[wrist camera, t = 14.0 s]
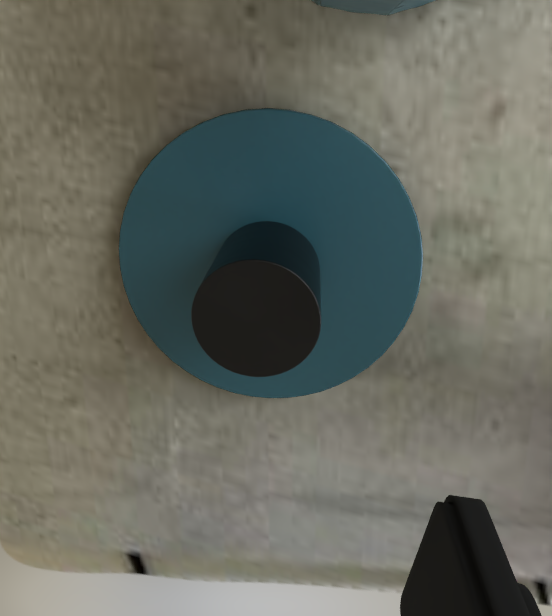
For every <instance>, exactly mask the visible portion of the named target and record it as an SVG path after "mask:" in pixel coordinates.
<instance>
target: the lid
mask: <svg viewBox="0 0 552 616" xmlns="http://www.w3.org/2000/svg"><path fill="white" fill-rule="evenodd" d="M119 258H120V269H121V274H122V279H123V284H124V288H125V291H126V294H127V296H128V299H129V302H130V305H131V307H132V309H133V311H134V313H135V315H136V317H137V319H138V321H139V322H140V324H141V325H142V327H143V328H144V330H145V331H146V333H147V334H148V336H149V337H150V338H151V339H152V340H153V342H154V343H155V344H156V345H157V346H158V348H159V349H160V350H161V351H162V352H164V353H165V354H166V355H167V356H168V357H169V358H170V359H171V360H172V361H173V362H175V363H176V364H177V365H179V366H180V367H181V368H183V369H184V370H185V371H187V372H188V373H190V374H192V375H194V376H195V377H197V378H199V379H200V380H202V381H204V382H207V383H209V384H211V385H213V386H216V387H218V388H221V389H224V390H227V391H230V392H233V393H238V394H242V395H247V396H253V397H263V398H289V397H297V396H304V395H309V394H313V393H317V392H321V391H324V390H326V389H329V388H332V387H334V386H337V385H339V384H341V383H343V382H345V381H347V380H349V379H351V378H353V377H355V376H356V375H358V374H359V373H361V372H362V371H364V370H365V369H367V368H368V367H369V366H370V365H371V364H373V363H374V362H375V361H376V360H377V359H378V358H380V357H381V356H382V355H383V354H384V352H385V351H386V350H387V349H388V348H389V347H390V346H391V345H392V344H393V342H394V341H395V339H396V338H397V337H398V335H399V334H400V332H401V331H402V329H403V328H404V326H405V324H406V322H407V320H408V318H409V316H410V314H411V312H412V310H413V307H414V304H415V301H416V298H417V295H418V292H419V287H420V282H421V277H422V264H423V251H422V239H421V233H420V229H419V224H418V220H417V216H416V213H415V211H414V208H413V206H412V203H411V201H410V198H409V196H408V194H407V192H406V191H405V189H404V187H403V185H402V184H401V182H400V180H399V178H398V177H397V176H396V175H395V173H394V172H393V171H392V169H391V168H390V167H389V165H388V164H387V163H386V162H385V160H384V159H383V158H382V157H381V156H379V155H378V154H377V153H376V152H375V151H374V150H373V149H372V148H371V147H370V146H369V145H368V144H367V143H365V142H364V141H362V140H361V139H360V138H358V137H357V136H356V135H354V134H353V133H352V132H350V131H348V130H346V129H344V128H342V127H340V126H339V125H337V124H335V123H333V122H331V121H328V120H325V119H322V118H320V117H317V116H314V115H312V114H307V113H303V112H298V111H293V110H287V109H273V108H262V109H248V110H242V111H237V112H232V113H228V114H223V115H221V116H218V117H215V118H213V119H210V120H207V121H205V122H202V123H200V124H198V125H196V126H195V127H193V128H191V129H189V130H187V131H185V132H184V133H182V134H181V135H179V136H178V137H177V138H175V139H174V140H173V141H171V142H170V143H169V144H167V145H166V146H165V147H164V148H163V149H162V150H161V151H160V152H159V153H158V154H157V155H156V156H155V157H154V158H153V159H152V160H151V162H150V163H149V165H148V166H147V167H146V169H145V170H144V171H143V173H142V174H141V175H140V177H139V179H138V181H137V183H136V184H135V186H134V188H133V190H132V192H131V194H130V197H129V199H128V202H127V205H126V208H125V211H124V214H123V219H122V224H121V229H120V240H119Z"/></svg>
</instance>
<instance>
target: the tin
mask: <svg viewBox="0 0 552 616" xmlns="http://www.w3.org/2000/svg"><path fill="white" fill-rule="evenodd" d="M311 1H313V2H314V3H316V4H317V5H320V6H324V7H331V8H335V9H340V10H344V11H349V12H356V13H371V14H380V15H390V14H394V13H397V12H400V11H403V10H407V9H411V8H415V7H419V6H422V5H425V4H427V3H430V2H433V1H436V0H311Z"/></svg>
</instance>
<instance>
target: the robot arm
mask: <svg viewBox="0 0 552 616" xmlns="http://www.w3.org/2000/svg"><path fill="white" fill-rule="evenodd" d="M400 612H401V616H541V613H540V611H539V609H538V606H537V604H536V601H535V600H534V598H533V596H532V594H531V592H530V591H529V590H528V589H527V588H526V587H525V586H524V585H522V584H520V583H517V581H516V579H515V576H514V574H513V571H512V569H511V566H510V564H509V561H508V559H507V556H506V554H505V551H504V549H503V547H502V544H501V542H500V539H499V537H498V534H497V532H496V529H495V527H494V524H493V522H492V519H491V517H490V514H489V512H488V510H487V507H486V505H485V503H484V502H483V501H482V500H480V499H473V498H466V497H459V496H452V495H449V496H448V497H447V498H446V500H445V502H444V503H443V502H437V503H436V505H435V507H434V509H433V512H432V515H431V517H430V520H429V523H428V525H427V528H426V531H425V533H424V536H423V539H422V542H421V544H420V547H419V550H418V552H417V555H416V558H415V560H414V563H413V566H412V569H411V571H410V574H409V577H408V579H407V582H406V585H405V587H404V590H403V593H402V596H401V604H400Z"/></svg>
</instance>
